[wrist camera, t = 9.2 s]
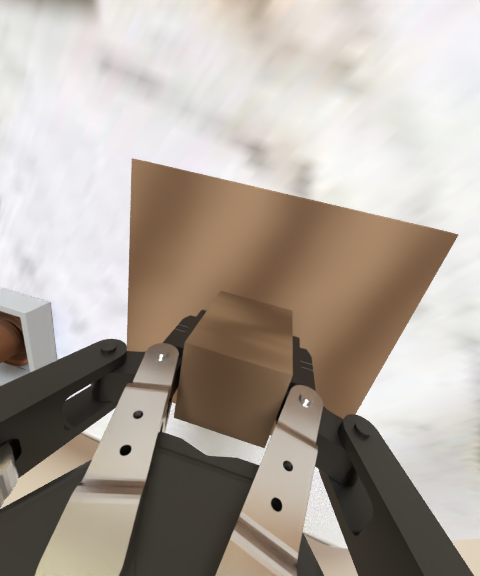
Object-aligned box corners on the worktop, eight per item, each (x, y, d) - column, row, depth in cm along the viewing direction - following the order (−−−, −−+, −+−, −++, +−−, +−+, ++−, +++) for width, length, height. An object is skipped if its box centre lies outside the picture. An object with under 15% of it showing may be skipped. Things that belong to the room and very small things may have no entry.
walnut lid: (442, 230, 11) (589, 270, 6) (329, 438, 17) (347, 557, 12) (145, 161, 13) (31, 138, 7) (135, 375, 19) (68, 454, 13)
